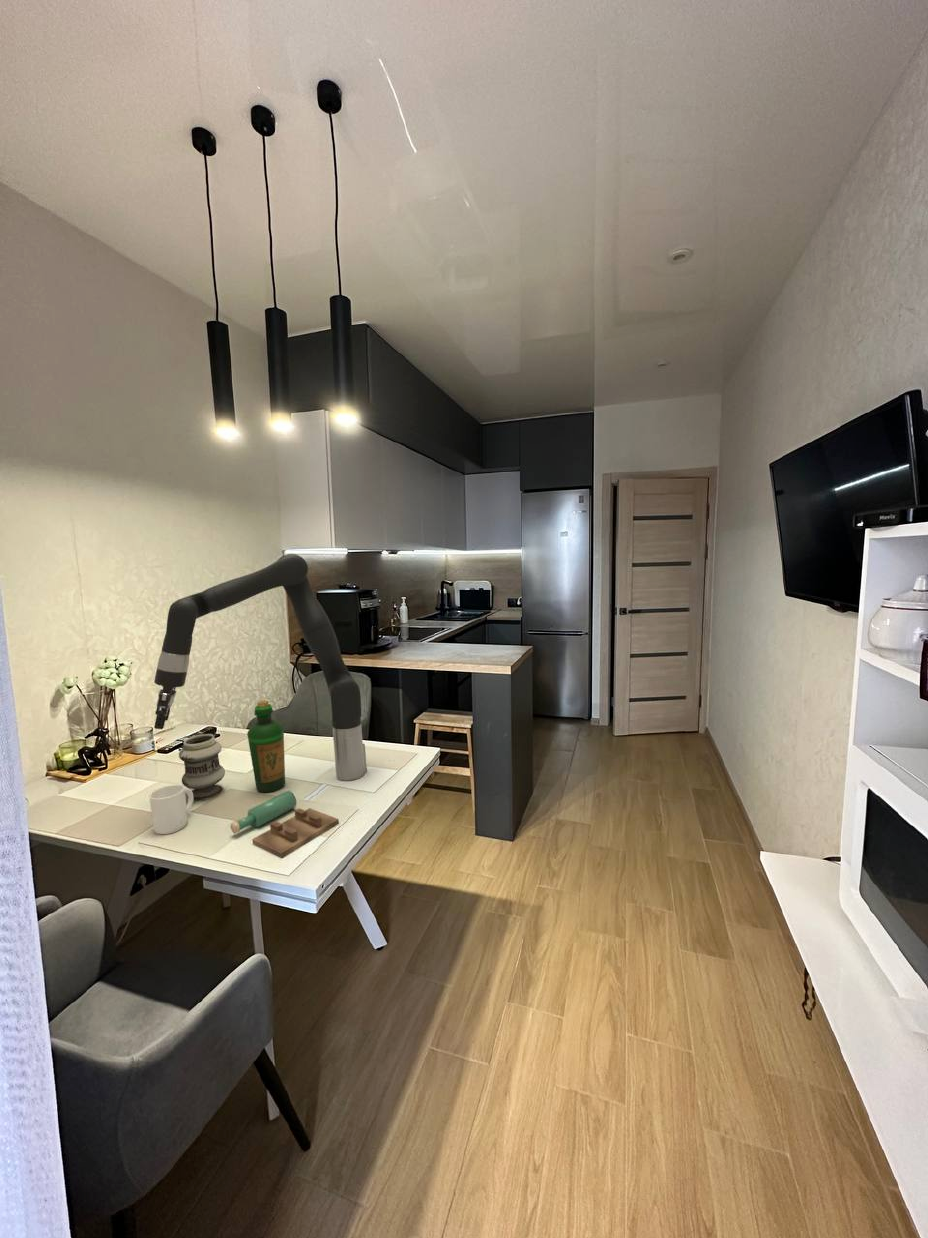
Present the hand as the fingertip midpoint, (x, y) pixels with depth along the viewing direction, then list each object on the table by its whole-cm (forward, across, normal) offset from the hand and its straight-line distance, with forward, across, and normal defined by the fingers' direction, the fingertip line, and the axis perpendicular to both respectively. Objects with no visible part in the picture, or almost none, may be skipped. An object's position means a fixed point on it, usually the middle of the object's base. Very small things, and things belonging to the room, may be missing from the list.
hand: (161, 724), depth 140 cm
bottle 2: (+20, -17, -31) cm, 40 cm away
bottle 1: (+19, +5, -33) cm, 39 cm away
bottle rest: (+18, -28, -38) cm, 50 cm away
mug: (+26, -6, -9) cm, 28 cm away
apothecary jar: (+24, +10, -15) cm, 30 cm away
